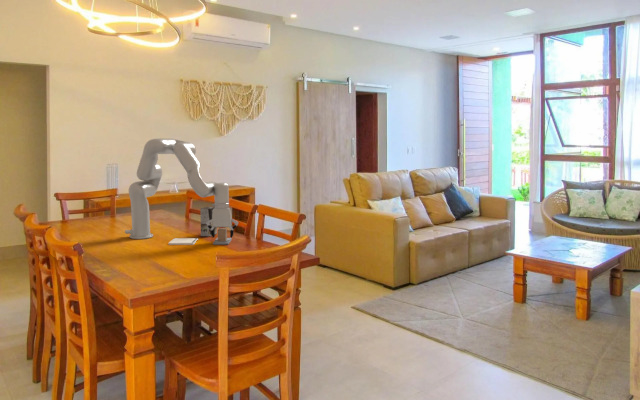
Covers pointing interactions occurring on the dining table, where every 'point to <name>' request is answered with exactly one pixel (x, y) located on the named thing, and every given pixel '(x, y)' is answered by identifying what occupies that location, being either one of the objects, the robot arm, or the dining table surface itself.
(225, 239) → the stub
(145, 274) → the dining table surface
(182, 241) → the board
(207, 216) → the coffee box
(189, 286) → the dining table surface
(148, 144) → the robot arm
